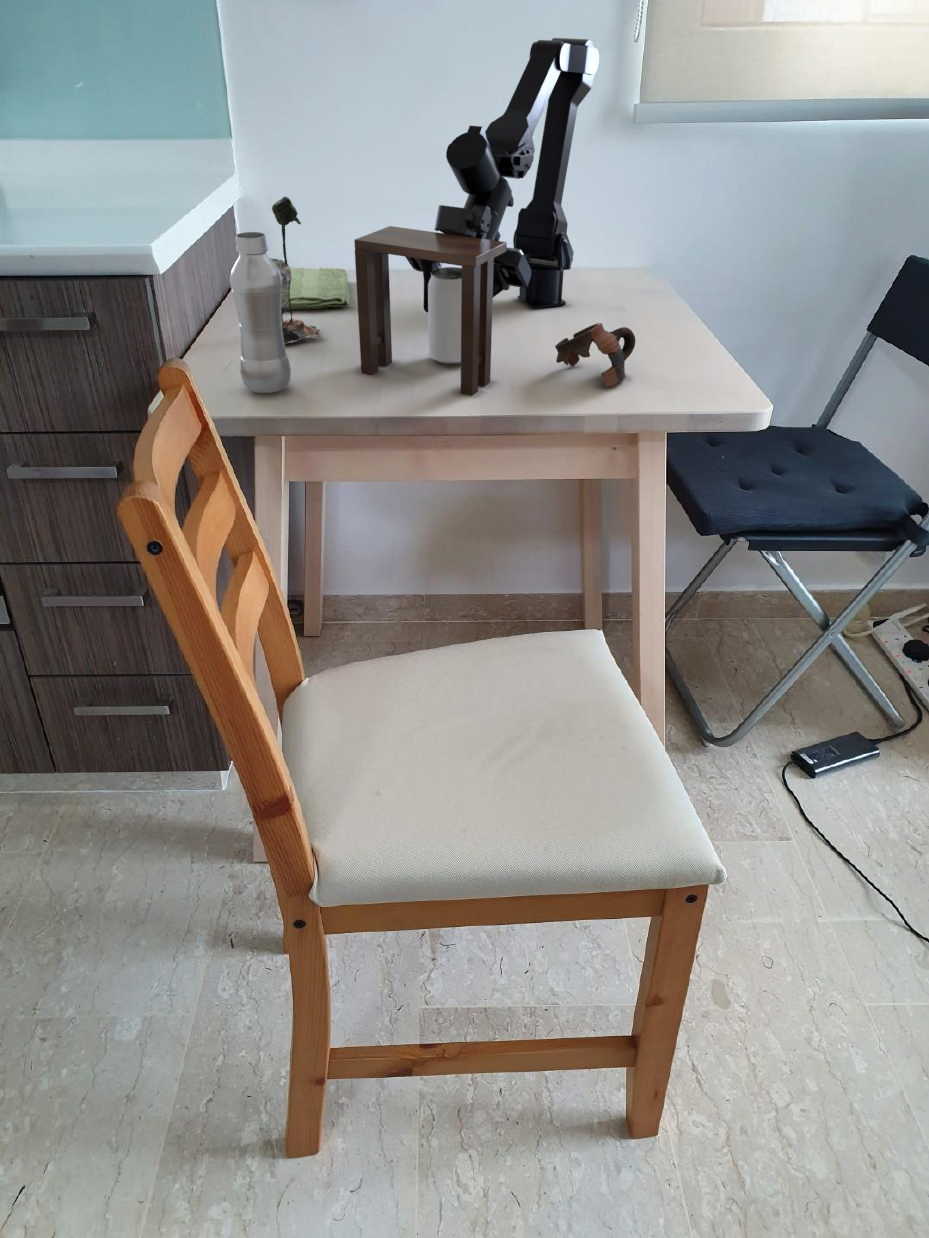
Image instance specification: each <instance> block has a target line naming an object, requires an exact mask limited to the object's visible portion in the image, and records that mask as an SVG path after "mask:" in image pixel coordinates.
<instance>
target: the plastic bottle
mask: <svg viewBox="0 0 929 1238" xmlns="http://www.w3.org/2000/svg"><path fill="white" fill-rule="evenodd" d="M234 238H235V244H236V246H235V250H236V252H237V253H238V255H239V256H238V257H237V259H236V260H235V263H234V264H233V267H232V268H231V272H230V277H229V283H230V288H231V292H232V296H233V300H234V304H235V308H236V311H237V318H238V322H239V330H240V350H241V356H240V370H239V371H240V377H241V380H242V383H243V385H244V386H245V387H246V389H248V390H249V391H250V392H254V393H260V394H270V393H271V394H272V393H277V392H281V391H283V390H285V389H286V388H287V387H288V385H289V383H290V382H291V376H292V375H291V373H292V368H291V363H290V360H289V356H288V354H287V349H286V343H284V338H283V332H282V322H281V320H282V315H281V302H282V276H281V273H280V271H279V269H278V268H277V266H276V265H275V264H274V262H273V261H272V260H271V259H272V258H271V257H269V255H268V254H267V252H268V251H269V245H268V243H267V236H266V233H264V232H261V231H246V232H245V231H244V232H239V233H237V234H235V237H234ZM270 258H271V259H270Z"/></svg>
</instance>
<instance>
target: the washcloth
mask: <svg viewBox="0 0 929 1238" xmlns="http://www.w3.org/2000/svg"><path fill="white" fill-rule="evenodd" d="M289 268H290V270H291V275H292V279H291V284H290V292H289V293H290V301H291V310H307V309H314V310H315V309H326V308H328V307H330V308H339V307H340V308H348V307H349V306H350V305H351V296H350V286H349V280H348V279H349V275H348V273H347V271H346V269H345V268H333V267H330V268H323V267H319V268H309V267H308V268H304V267H290V266H289ZM287 310H288V311H290V309H289V308H288V309H287Z"/></svg>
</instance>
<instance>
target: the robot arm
mask: <svg viewBox="0 0 929 1238" xmlns="http://www.w3.org/2000/svg"><path fill="white" fill-rule="evenodd" d="M599 65H600V51H599V48H597V47H595V43H594V41H593V40H592V39H589V38H588V39H586V38H567V37H553V38H551V40H550V39H539V40H537V41H534V42H532V44H531V47H530V51H529V59H528V61H527V63H526V66H525V68H524V70H523V72H522V74H521V76H520V79H519V81H518V83H517V85H516V87H515V90H514V91H513V93H512V95H511V98H510V100H509V103H508V105H507V107H506V109H505V111H504V113H503V114H502V115H501V116H499V117H498V118H496V119H494V120H493V121H491V122H490V123H489V124H488V126H487V128H486V129H485V128H484V126H481V125H480V126H479V125H469V126H468V129H467V132H464V133H462V134H459V135H458V136H457V137H455V138H454V139H452V141H451V143H449V144H448V146H447V147H446V152H445V158H446V161H447V164H448V166H449V167H450V169H451V171H452V173H453V175H454V177H455V179H456V180H457V182H458V185H459V186H460V188H461V190H462V191H463V192H465V193H466V194H467V197H466V199H465V203H464V205H463V207H459V206H453V205H451V206H450V205H441V204H439V205H438V209H437V213H436V219H435V225H434V230H435V231H436V232H439V233H444V234H451V235H459V236H466V237H473V238H480V239H488V240H495V241H500V239H501V236H502V235H501V234H500V231H499V230H500V227H501V223H502V220H503V218H504V215H505V213H506V209H507V207H509V208H513V207H514V204H515V203H514V200H515V199H514V196H513V190H512V188H511V186H510V183H509V181H508V180H507V179H515V180H516V179H517V180H519V179H524V178H525V177H526V176H527V173H528V172H529V171H530V170H531V167H532V164H533V162H534V159H535V151H536V148H535V144H534V140H533V136H534V134H535V130H536V128H537V125H538V123H539V121H540V119H541V117H542V116H543V115H542V114H543V112H544V110H545V108H546V112H545V113H546V114H545V118H544V126H543V131H542V138H541V143H540V144H541V145H540V150H539V155H538V163H537V168H536V175H535V181H534V188H533V194H532V198H531V200H530V202H529V203H528V204H527V206H526V207H522V208H520V210H519V212H518V213H517V214H518V215H517V223H516V228H515V230H514V233H513V239H512V245H513V247H508V246H507V249H506V252H504V253H502V254H500V255H498V256H496V257H494V267H493V298H495V297H496V296H498V295H499V294H500V293H502V292H503V291H508V290H509V289H510V287H516V288H519V295H517V299H518V301H520V302H522V303H523V304H525V305H526V306H528V307H530V308H531V309H540V308H541V309H543V308H551V307H557V306H558V307H559V306H565V305H567V301H566V300H564V299H563V288H564V287H563V286H564V271H569V270H571V269H572V264H573V261H574V250H573V247H572V245H571V241H570V239H569V236H568V234H567V233H568V220H567V217H566V215H565V212H564V209H563V207H562V203H563V196H564V192H565V191H564V189H565V185H566V178H567V172H568V168H569V160H570V155H571V149H572V143H573V138H574V131H575V127H576V126H575V125H576V119H577V115H578V108H579V106H580V105H581V103H582V102H583V101H584V99H585V98H586V96H587V95H588V94H589V92H590V91H591V90H592V87H593V84H594V78H595V75H596V74H597V72H598V69H599ZM546 105H547V106H546ZM506 178H507V179H506ZM405 259H406V261H408V264H409V265H410V266H411V268H412V269H413V270H415V271H417V272H421V273H422V275H423V276H422V277H423V310H424V312H425V313H428V283H429V280H430V278H431V272H432V271H433V270H435V269H438V268H442V267H443V264H446V265H453V266H458V267H459V266H460V267H462V265H458V264H451V263H445V262H438V261H431V260H425V259H418V258H411V257H405Z"/></svg>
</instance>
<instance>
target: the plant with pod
mask: <svg viewBox="0 0 929 1238" xmlns="http://www.w3.org/2000/svg"><path fill="white" fill-rule="evenodd" d="M271 210H272V213H273V215H274V217H275V220H276V222H277V224H278V225H279V226H281V236H282V254H283V258H284V260H282V259H279V258H271V257H269V258H270V259H271V260H272V261H273V262H274V264H275V265H276V266H277V268H278V269H279V271H280V273H281V276H282V302H281V315H282V320H281V322H282V332H283V338H284V343H285V344H289V343H295V342H298V341H300V340H301V339H302V340H303V339H304V340H305V339H307V338H313V339H318V338H319V337H320V333H319V332H320V329H318V328H317V327H316V326H315V325H310V326H309V325H306V324H305V323H304V321H303V319H300V318H293V309H291V301H290V293H289V292H290V284H291V279H292V275H291V270H290V268H289V267H290V266H289V263H288V259H287V248H286V226H287V225H289V224H290V223H293V222H296V223H297V224H298V225H301V224H302V222H301V221H300V219H299V218H298V214H299V213H298V211H297V209H296V207H295V206H294V204H293V203H292V201H291V199H290V198H289V197H287V196H283V197H282V198H281V199H279V200H277V201H275V202H274V203H273V205H272V207H271ZM288 308H289V309H290V310H289V309H288ZM288 310H289V313H290V319H286V320H284V317H283V316H284V313H285V312H286V311H288Z"/></svg>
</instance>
